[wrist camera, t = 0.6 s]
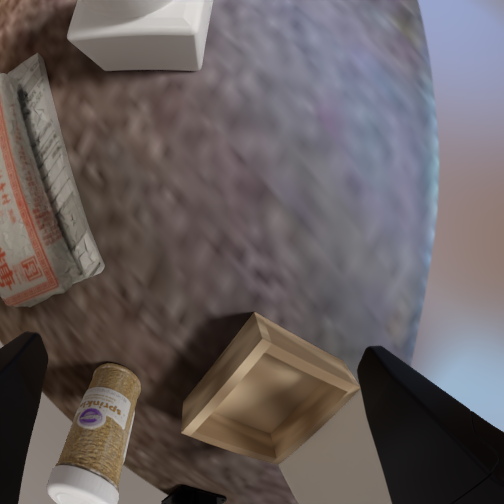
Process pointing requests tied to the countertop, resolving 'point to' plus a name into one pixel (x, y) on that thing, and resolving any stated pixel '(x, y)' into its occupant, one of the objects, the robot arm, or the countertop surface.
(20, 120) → the packaged product
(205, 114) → the countertop surface
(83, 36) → the medicine bottle
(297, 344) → the box
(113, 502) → the sprinkles bottle
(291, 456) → the lid
